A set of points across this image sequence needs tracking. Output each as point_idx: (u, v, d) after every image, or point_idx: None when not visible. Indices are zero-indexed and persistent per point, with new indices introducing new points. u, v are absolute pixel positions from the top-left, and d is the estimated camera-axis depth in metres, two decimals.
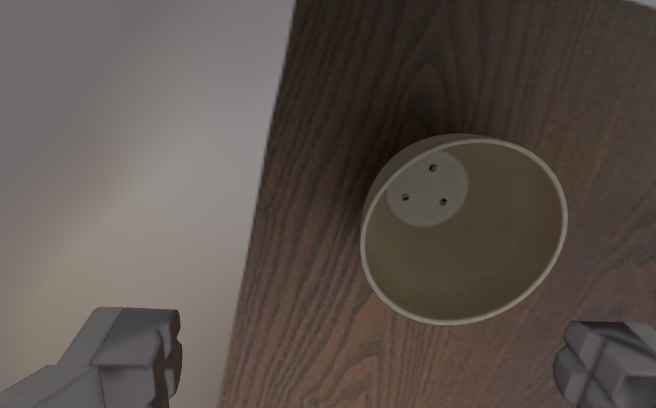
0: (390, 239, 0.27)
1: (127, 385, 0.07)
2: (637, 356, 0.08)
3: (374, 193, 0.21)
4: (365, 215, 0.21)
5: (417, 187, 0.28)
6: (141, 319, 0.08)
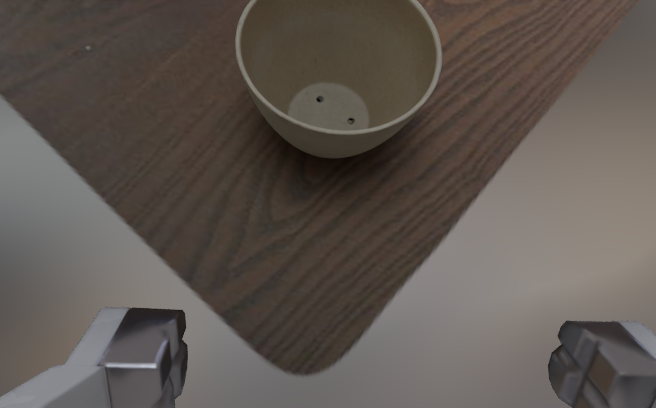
0: (386, 89, 0.27)
1: (134, 385, 0.07)
2: (631, 356, 0.08)
3: (398, 125, 0.21)
4: (417, 110, 0.21)
5: (336, 123, 0.28)
6: (147, 319, 0.08)
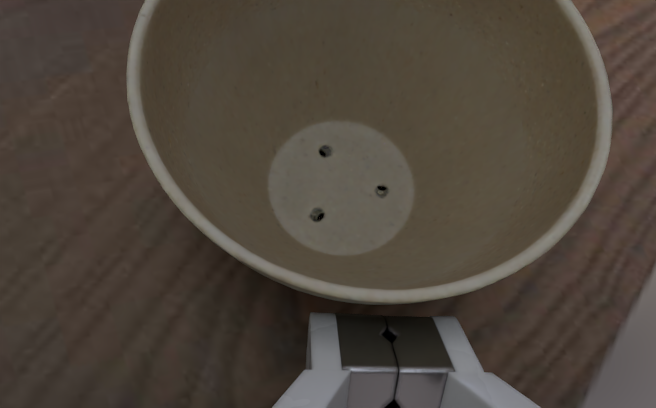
0: (450, 137, 0.14)
1: (371, 388, 0.08)
2: (424, 352, 0.08)
3: None
4: (572, 223, 0.09)
5: (356, 196, 0.15)
6: (359, 324, 0.09)
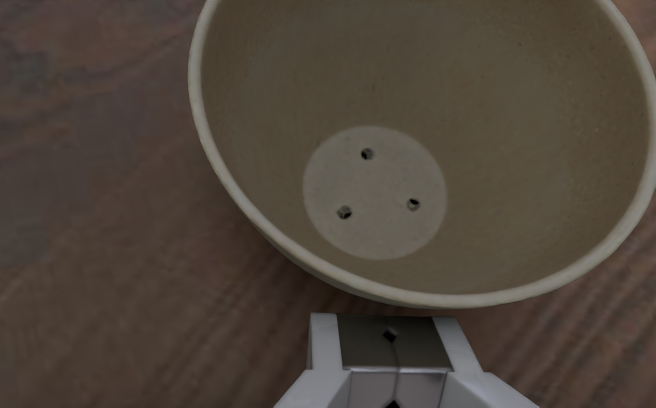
0: (493, 166, 0.14)
1: (372, 388, 0.08)
2: (423, 351, 0.08)
3: None
4: (591, 267, 0.08)
5: (386, 204, 0.15)
6: (360, 324, 0.09)
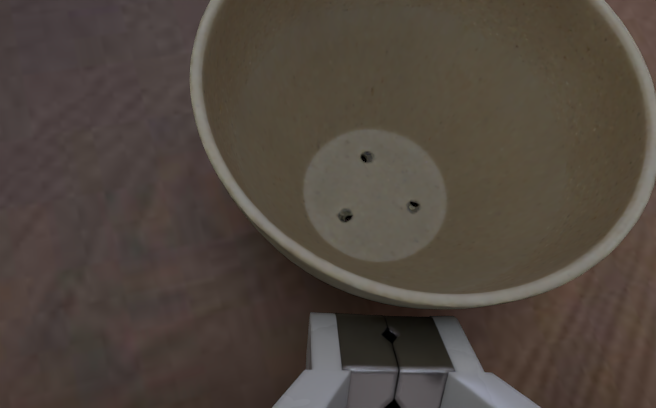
0: (492, 167, 0.14)
1: (371, 388, 0.08)
2: (424, 352, 0.08)
3: None
4: None
5: (387, 206, 0.16)
6: (359, 325, 0.09)
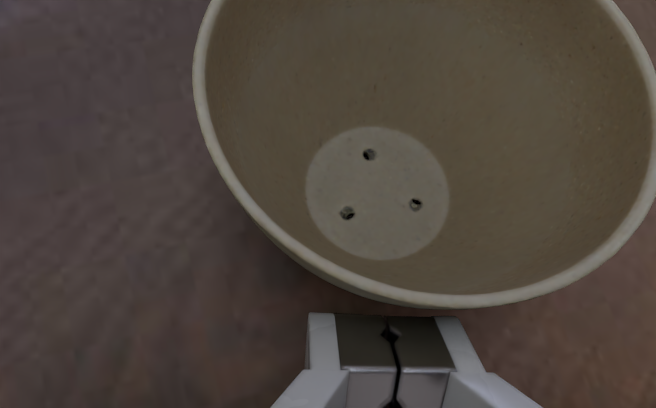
0: (495, 166, 0.14)
1: (369, 388, 0.08)
2: (426, 351, 0.08)
3: None
4: (596, 266, 0.08)
5: (389, 204, 0.16)
6: (358, 325, 0.09)
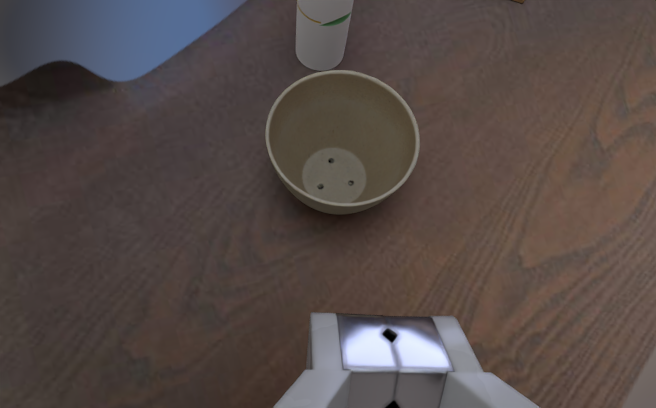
0: (382, 165, 0.34)
1: (372, 388, 0.08)
2: (423, 352, 0.08)
3: (371, 204, 0.28)
4: (387, 196, 0.28)
5: (339, 182, 0.35)
6: (360, 325, 0.09)
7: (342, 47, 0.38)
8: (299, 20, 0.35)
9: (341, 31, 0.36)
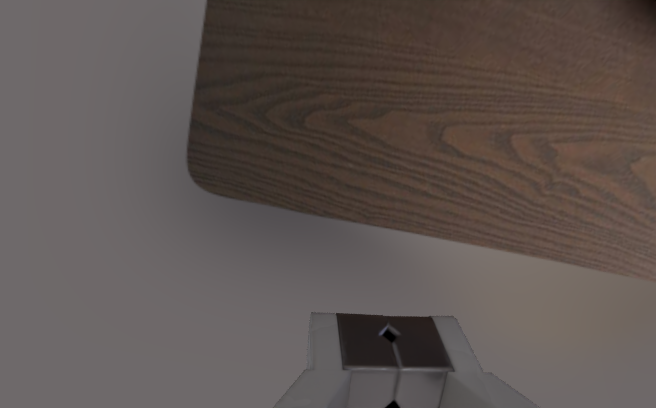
0: None
1: (372, 388, 0.08)
2: (423, 351, 0.08)
3: None
4: None
5: None
6: (360, 324, 0.09)
7: None
8: None
9: None
